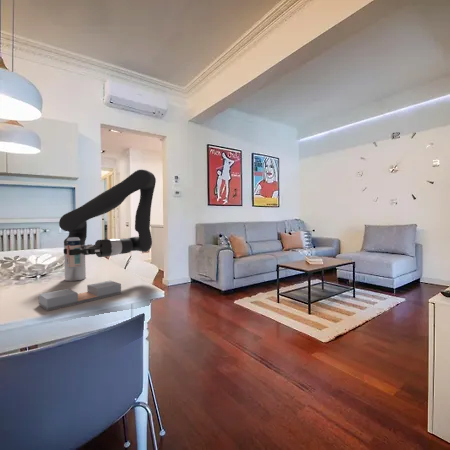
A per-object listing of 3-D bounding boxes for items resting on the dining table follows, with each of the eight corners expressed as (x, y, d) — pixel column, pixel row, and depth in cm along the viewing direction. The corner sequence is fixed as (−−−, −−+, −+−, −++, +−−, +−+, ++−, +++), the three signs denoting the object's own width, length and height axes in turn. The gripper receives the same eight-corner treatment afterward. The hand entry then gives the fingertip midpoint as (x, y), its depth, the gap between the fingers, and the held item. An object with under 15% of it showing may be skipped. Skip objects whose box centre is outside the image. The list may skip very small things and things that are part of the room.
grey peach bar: (39, 305, 95) (38, 294, 95) (110, 289, 115) (110, 280, 115) (47, 311, 89) (47, 299, 89) (121, 293, 109) (120, 283, 109)
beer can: (71, 266, 110) (70, 237, 110) (83, 266, 110) (82, 237, 110) (65, 268, 105) (64, 238, 105) (77, 268, 106) (76, 238, 105)
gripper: (100, 238, 123) (59, 241, 110) (116, 240, 114) (73, 243, 101) (101, 254, 123) (60, 259, 110) (117, 257, 114) (74, 263, 101)
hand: (66, 252), depth 106 cm, fingers closed on beer can, 4 cm apart
